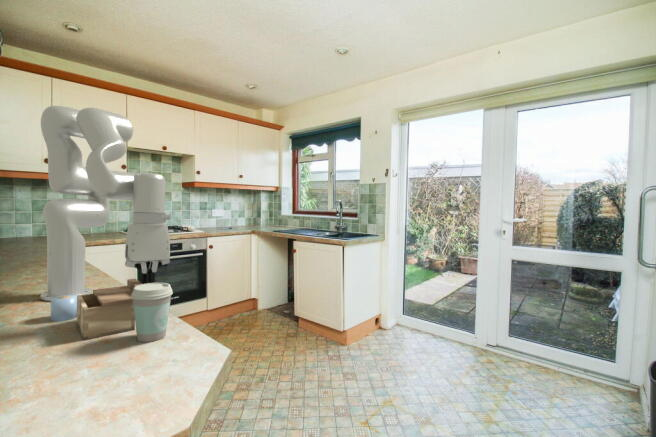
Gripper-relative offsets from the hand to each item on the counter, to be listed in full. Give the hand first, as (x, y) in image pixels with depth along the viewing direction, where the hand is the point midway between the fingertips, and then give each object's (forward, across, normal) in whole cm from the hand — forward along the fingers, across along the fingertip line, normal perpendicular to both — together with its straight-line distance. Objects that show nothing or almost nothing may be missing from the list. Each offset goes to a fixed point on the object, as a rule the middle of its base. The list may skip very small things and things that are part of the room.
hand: (147, 286), depth 86 cm
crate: (+9, +10, 0) cm, 13 cm away
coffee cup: (+9, +3, +14) cm, 17 cm away
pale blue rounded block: (+9, +16, -13) cm, 23 cm away
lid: (+1, +6, 0) cm, 6 cm away
